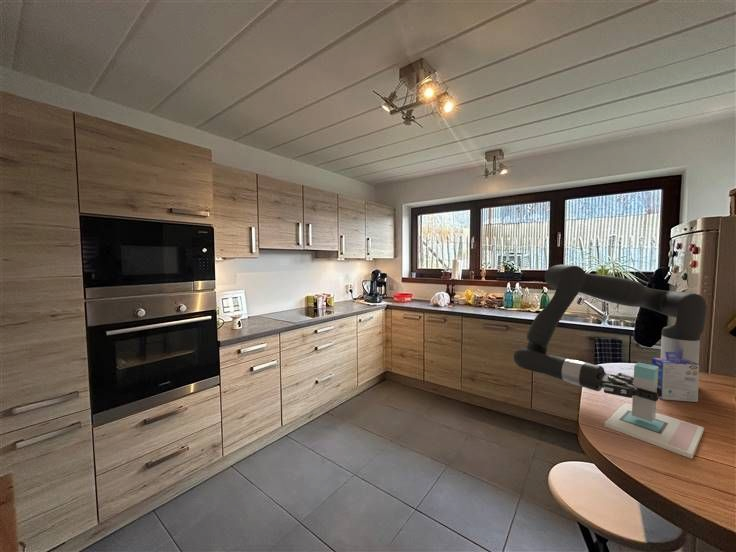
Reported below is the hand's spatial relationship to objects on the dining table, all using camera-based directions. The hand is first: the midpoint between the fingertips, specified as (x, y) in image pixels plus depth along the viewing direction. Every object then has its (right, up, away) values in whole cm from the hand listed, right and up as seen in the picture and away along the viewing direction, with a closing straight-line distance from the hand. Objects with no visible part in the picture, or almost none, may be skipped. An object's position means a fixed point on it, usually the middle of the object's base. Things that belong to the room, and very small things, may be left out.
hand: (659, 394), depth 76 cm
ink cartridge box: (+23, -8, +18) cm, 31 cm away
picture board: (0, -9, +1) cm, 10 cm away
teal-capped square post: (-2, -7, +3) cm, 8 cm away
